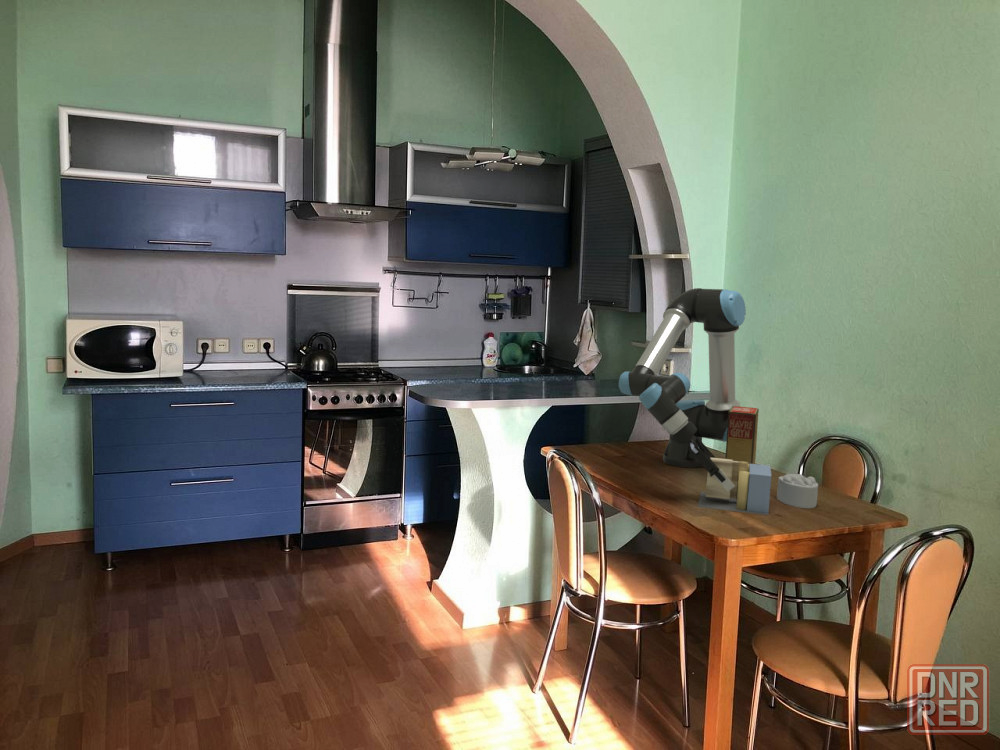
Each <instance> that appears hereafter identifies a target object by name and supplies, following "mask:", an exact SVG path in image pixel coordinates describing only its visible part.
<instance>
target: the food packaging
mask: <svg viewBox="0 0 1000 750" xmlns="http://www.w3.org/2000/svg"><path fill="white" fill-rule="evenodd" d="M758 423H759V408H758V407H748V406H747V407H746V406H740V407H739V406H732V408H731V409H730V410H729V412H728V427H727V442H726V443H725V444H726V446H725V457H724V459H730V460H733V461H743V462H748V464H756V455H757V438H758Z"/></svg>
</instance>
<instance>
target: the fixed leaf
mask: <svg viewBox="0 0 1000 750" xmlns="http://www.w3.org/2000/svg"><path fill="white" fill-rule="evenodd" d="M771 485H772V470H771V465H769V464H758V463H755V464H748V472H747V471H739V481H738V493H737V505H736V508H737V509H739V510H747V511H755V512H763V513H768V514H769V511H770V510H769V509H770V498H771V487H772V486H771Z"/></svg>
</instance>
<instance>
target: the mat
mask: <svg viewBox="0 0 1000 750" xmlns="http://www.w3.org/2000/svg"><path fill="white" fill-rule="evenodd" d="M697 502H698V503H697V507H698V508H704V509H712V510H713V509H714V510H721V511H732V512H739V513H748V514H754V515H755V514H757V515H765V516H769V512H768V513H763V512H755V511H747V510H739V509H737V508H736V505H737V499H735V498H730V499H723V498H715V497H706V491H700V493H699V498H698V501H697Z"/></svg>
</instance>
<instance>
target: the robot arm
mask: <svg viewBox="0 0 1000 750" xmlns="http://www.w3.org/2000/svg"><path fill="white" fill-rule="evenodd" d="M746 311H747V310H746V303H745V299H744V298H743V295H742V294H741V293H740V292H739V291H736V290H729V289H726V288H725V289H720V288H719V289H718V288H698V287H697V288H696V287H695V288H692V289H689V290H686V291H684V292H683V293H681V294H680V295H678V296H676V297H675V298H674V299H673V300H672V301H671V302H670V303H669V304H668V306H667V307H666V309H665V310H664V312H663V314H662V318H663V319H662V321H661V322H660V324H659V326H658V328H657V329H656V331H655V332H654V335H653V336H652V338H651V339H650V341H649V343H648V344H647V346H646V348H645V349H644V351H643V353H642V355H641V356H640V358H639V359H638V361H637V362H636V365H635V366H634V368H633V369H632V371H624V372H622V373H621V374H620V376H619V379H618V388H619V391H620V392H621V394H624V395H628V396H632V397H638V400H639V401H640V402H641V404H642V405H643V407H644V408H645V409H646V410H647V411H648V412H649V414H651V415H652V417H654V419H655V420H656V421H657V422H658V423H659V424H660V425H661V426H662V431H665V432H666V433H668V435H669V438H668V442H667V445H666V447H665V450H664V452H663V457H662V462H663V463H664V464H667V465H670V466H674V467H682V468H700V467H704V468H705V469H706V471H707V473H708V472H709V473H710V474H711V475H710V476H711V477H712V476H714V477H715V478H716V479H717V480H718V481H719V482H720V484H721V485H722V486H723V487H724V488H725V489H726V490H727V492H729V491H730V490H731V489H732V488H734V487H735V485H734V484H733V483H732V482H731V481H730V480H729V479H728V477H727V476H726V475H725V474H724V473H723V472H722V471H721V469H720V470H719V468H718V467H717V466H716V465H715V464H714V462H713V461H712V460H711V459H710V458H717V457H716V456H715V455H714V454H713V453H712V452H711V450H710V449H708V447H707V446H706V445H705V444H704V442H703V439H710V440H714V441H715V440H716V441H720V442H723V443H725V442H727V427H728V412H729V410H730V409H731V408H732V406H739V407H741V402H739V401H738V400H737V399H736V363H735V362H736V359H735V358H736V357H735V355H736V353H735V349H736V347H735V333H736V332H738V330H739V329H740V326H741V325H743V324H744V321H745V319H746V317H745V316H746V314H747V313H746ZM692 323H693V324H694V323H701V324H703V331H704V332H705V333H707V334H708V369H709V372H708V375H709V399H708V400H707V401H705V400H703V399H683V398H684V397H685V396H686V395H687V394H688V393H689V391H690V389H691V381H690V379H689V378H688V377H687V375H686V374H684V373H682V372H679V371H678V372H674V373H672V374H670V375H669V376H665V375H659V372H660V371H661V369H662V366H664V363H665V362H666V360H667V359H668V358H669V355H670V353H671V351H672V350H673V348H674V347H675V345H676V343H677V341H678V340H679V338H680V336H681V334H682V333H683V331H684V330H687V329H688V328H689V326H690V325H691V324H692Z"/></svg>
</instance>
